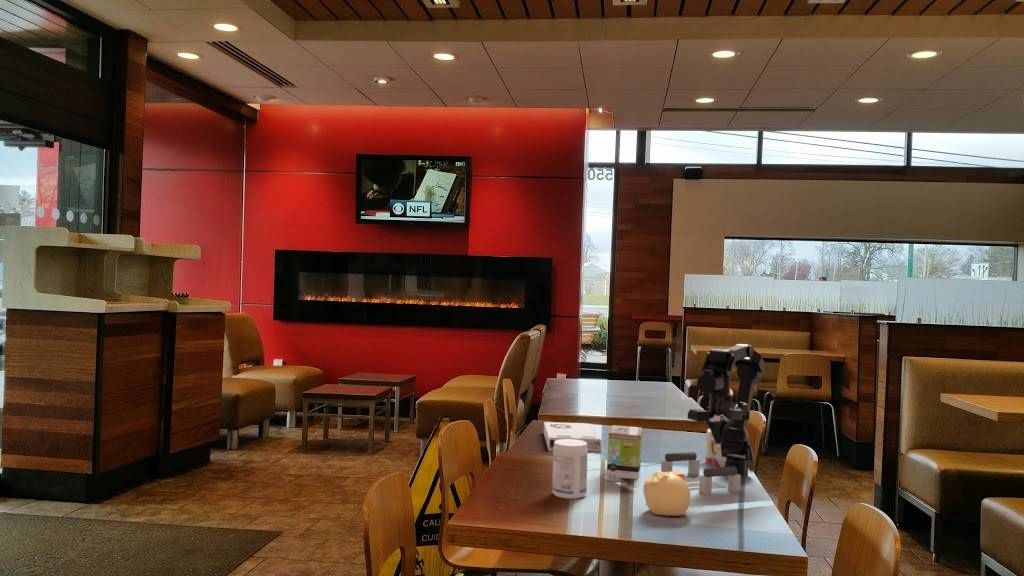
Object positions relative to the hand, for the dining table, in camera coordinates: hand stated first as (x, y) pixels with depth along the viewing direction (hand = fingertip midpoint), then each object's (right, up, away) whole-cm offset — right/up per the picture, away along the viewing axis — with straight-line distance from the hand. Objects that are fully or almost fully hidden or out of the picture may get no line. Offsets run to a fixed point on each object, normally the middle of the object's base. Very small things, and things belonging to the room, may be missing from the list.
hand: (717, 443), depth 218 cm
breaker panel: (-9, -13, -2) cm, 16 cm away
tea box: (-27, -12, +9) cm, 31 cm away
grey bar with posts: (-2, -13, -10) cm, 16 cm away
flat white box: (-39, -13, +58) cm, 71 cm away
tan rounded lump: (-21, -12, -28) cm, 37 cm away
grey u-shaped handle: (-10, -13, +8) cm, 18 cm away
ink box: (+8, -14, +28) cm, 33 cm away
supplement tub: (-45, -12, -14) cm, 49 cm away
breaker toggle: (-13, -11, -4) cm, 18 cm away
